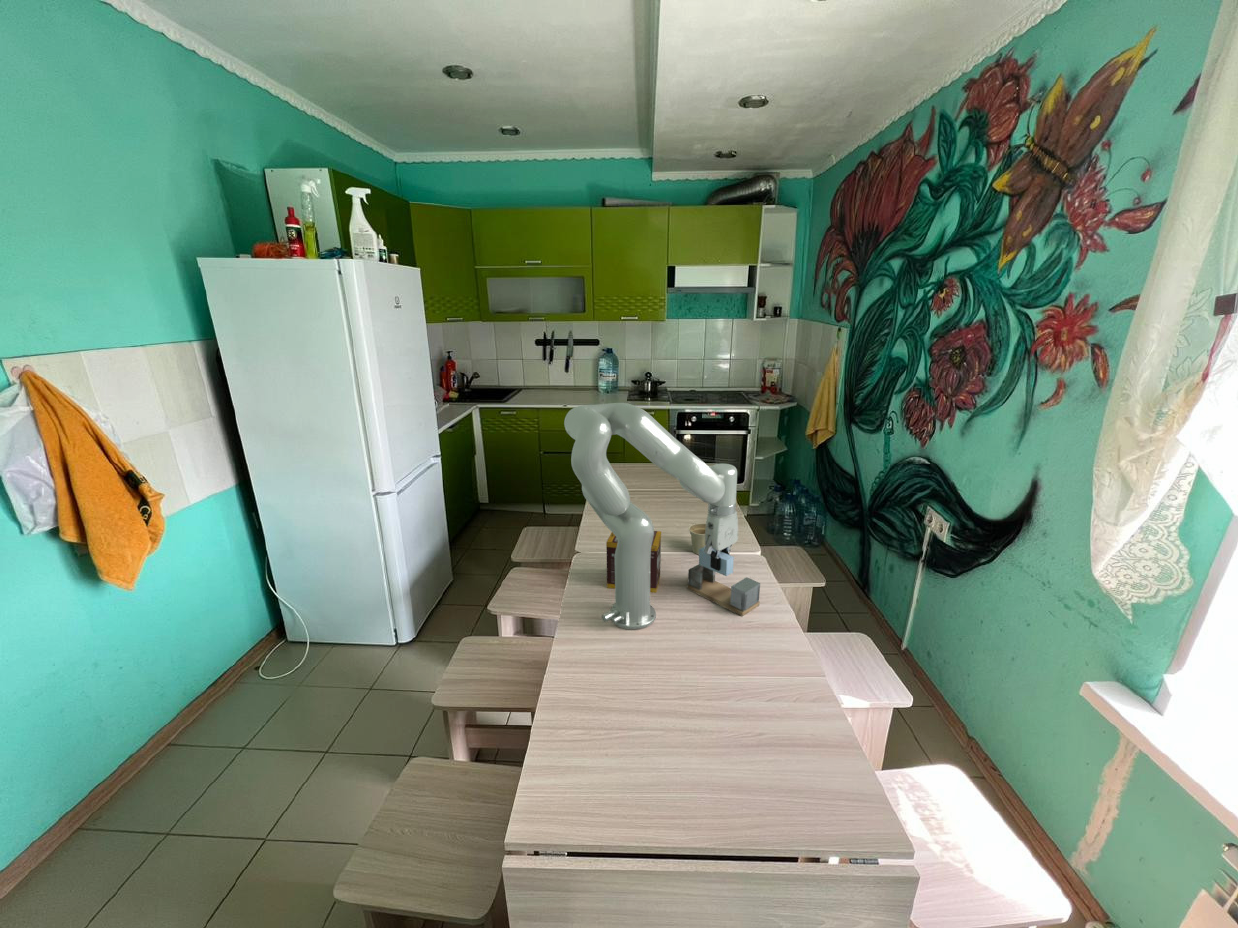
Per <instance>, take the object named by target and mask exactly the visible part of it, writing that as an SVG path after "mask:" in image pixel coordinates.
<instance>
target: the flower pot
mask: <svg viewBox="0 0 1238 928" xmlns="http://www.w3.org/2000/svg"><path fill="white" fill-rule="evenodd" d="M705 528H706V523H702V522H700V523H699V522H697V523H694V524H691V525H689V526H688V531H689V534H690V536H691V537H690V538H691V545H692V552H693V553H694V554H695V555H698V556H699V549H701V548H703V547H705V546H706V545H705Z"/></svg>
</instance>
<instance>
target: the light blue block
mask: <svg viewBox="0 0 1238 928" xmlns="http://www.w3.org/2000/svg"><path fill="white" fill-rule="evenodd" d="M705 547H706V546H705ZM705 547H703V548H701V549H699V555H698V564H699V565H701V566H704V567H706V568H708V569H710V570H713V571H715V573H717V574H719V575H723V576H725V577H728V576H729V575H731V574H733V573H734V562H735V561H734V556H732V555H730V554H729V555H728V554H726V553H723V552H720V556H719V558H721V566H720V570H719V571H718V570H715V569H713V568H711V567H710V562H711V556H710V555H709V554H707V553H705V552H704V550H705ZM714 551H715V552H716V550H715V549H714Z"/></svg>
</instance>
